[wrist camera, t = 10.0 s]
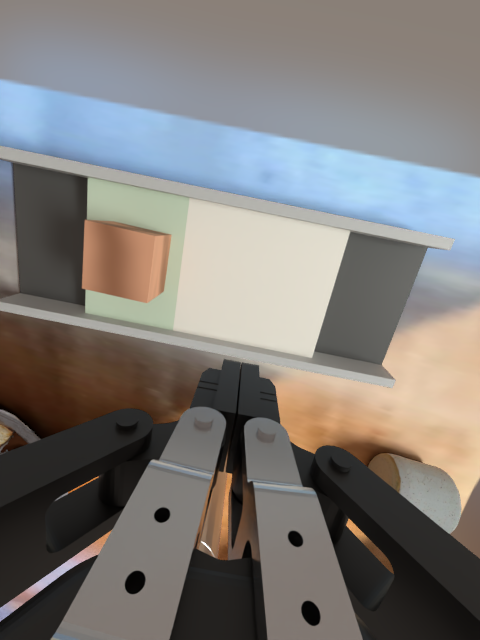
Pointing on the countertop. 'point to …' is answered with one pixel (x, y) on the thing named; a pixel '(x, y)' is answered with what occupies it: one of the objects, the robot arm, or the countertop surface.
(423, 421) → the countertop surface
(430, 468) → the ceramic mug
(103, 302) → the pad
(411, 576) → the robot arm
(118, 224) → the block
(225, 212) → the trap channel
